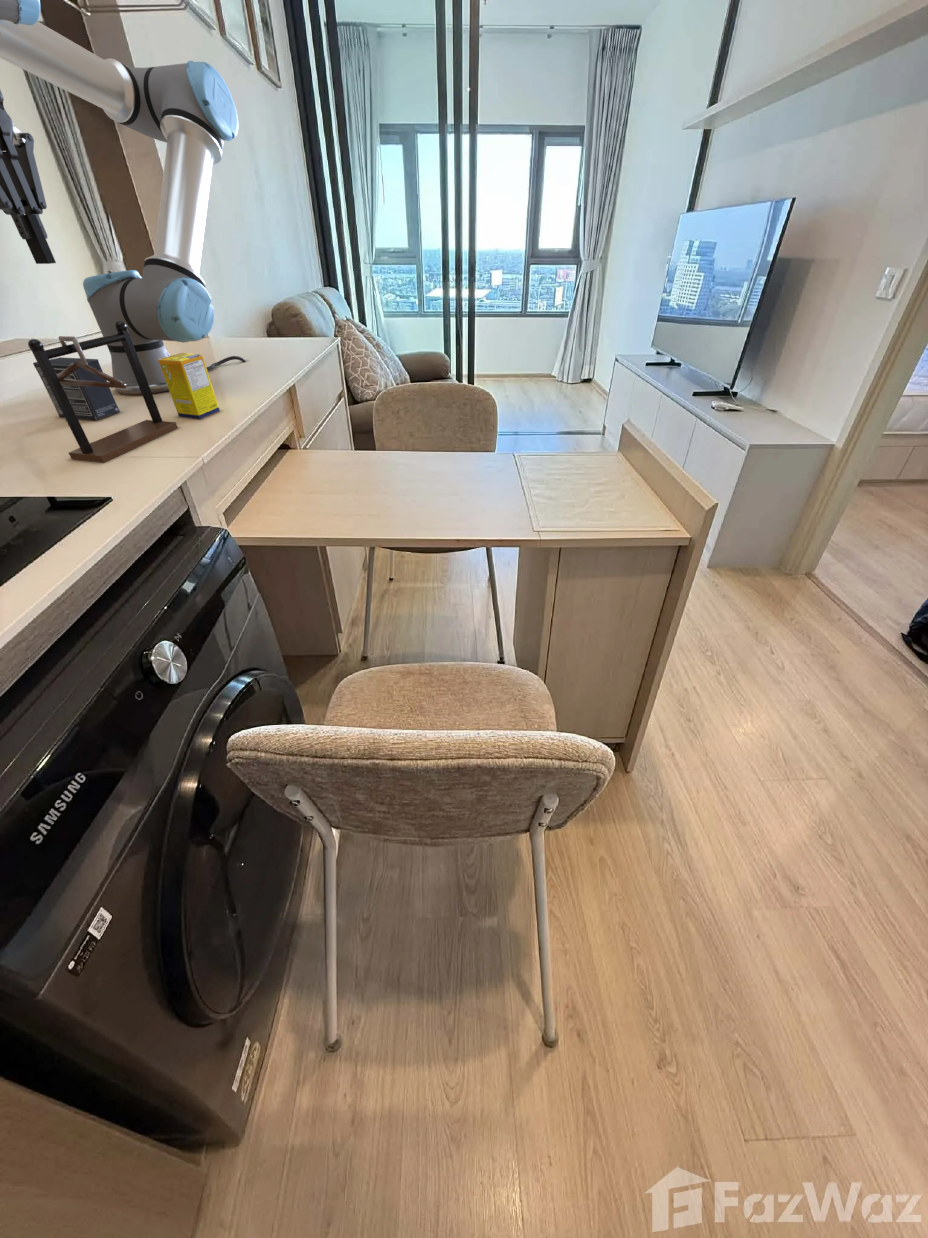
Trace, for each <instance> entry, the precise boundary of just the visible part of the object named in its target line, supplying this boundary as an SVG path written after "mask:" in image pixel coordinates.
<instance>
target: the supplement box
mask: <svg viewBox="0 0 928 1238" xmlns="http://www.w3.org/2000/svg"><path fill="white" fill-rule="evenodd" d="M158 361H159V364H160V367H161V369H162V372H163V375H164V378H165V380H166V383H167V386H168V389H169V391H168V392H169V394H170V397H171V400H172V401H173V405H174V407H175V411H176V413H177V416H178V418H185V419H195V420H202V419H204V418H206V417H208V416H210V415H213V414H216V413H218V412H220V411H221V409H220V407H219V403H218V400H217V397H216V394H215V390H214V387H213V385H212V382H211V378H210V374H209V371H207V368H206V367H207V366H206V365H207V364H206V362H205V359H204V356H203V355H202V354H201V353H189V352H188V353H187V352H179V353H176V354H172V355H170V356H168V357H165V358H161V359H158Z"/></svg>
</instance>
